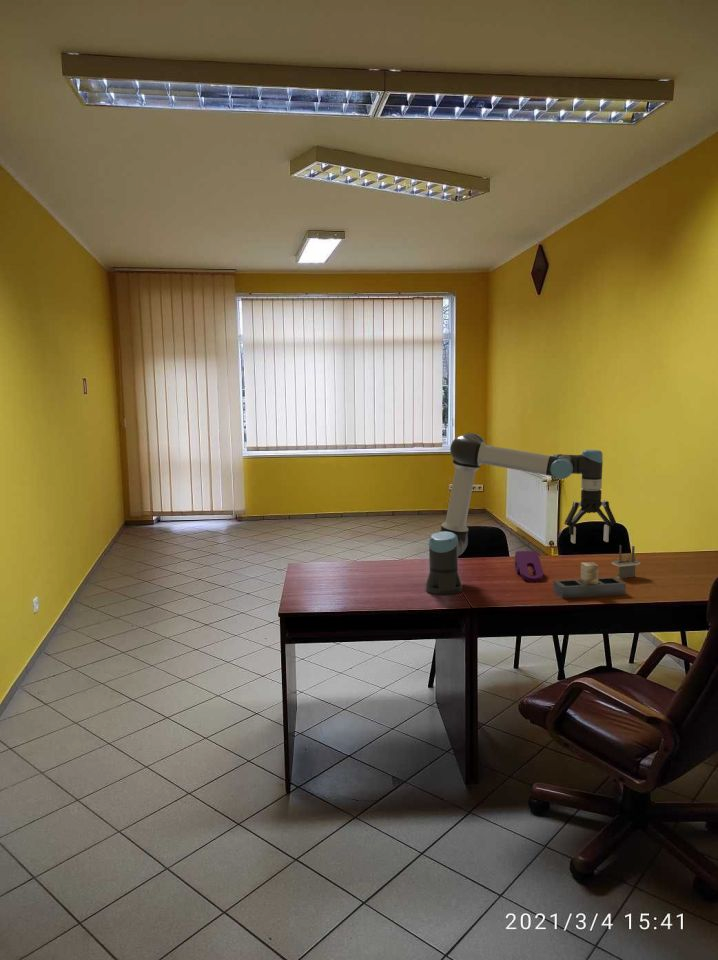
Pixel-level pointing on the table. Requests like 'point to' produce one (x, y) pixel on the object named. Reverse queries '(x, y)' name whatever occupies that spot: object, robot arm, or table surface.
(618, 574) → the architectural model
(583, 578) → the peg
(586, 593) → the dark grey long frame
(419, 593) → the table surface
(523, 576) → the mounting bracket
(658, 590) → the table surface
